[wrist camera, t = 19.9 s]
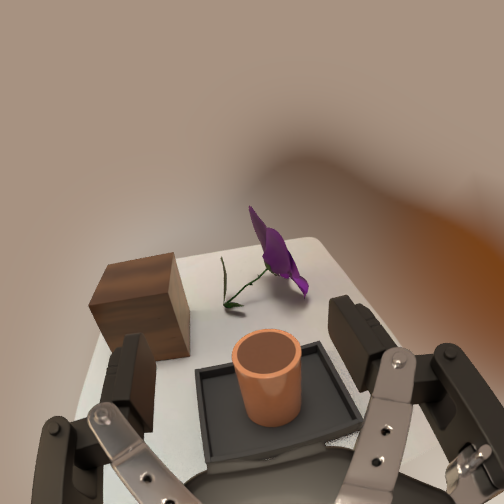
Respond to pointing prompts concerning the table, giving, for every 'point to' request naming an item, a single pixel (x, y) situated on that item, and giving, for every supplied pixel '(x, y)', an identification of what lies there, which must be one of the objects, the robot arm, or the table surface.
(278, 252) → the flower
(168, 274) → the block
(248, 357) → the cup
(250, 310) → the table surface
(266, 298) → the table surface
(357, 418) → the tray
